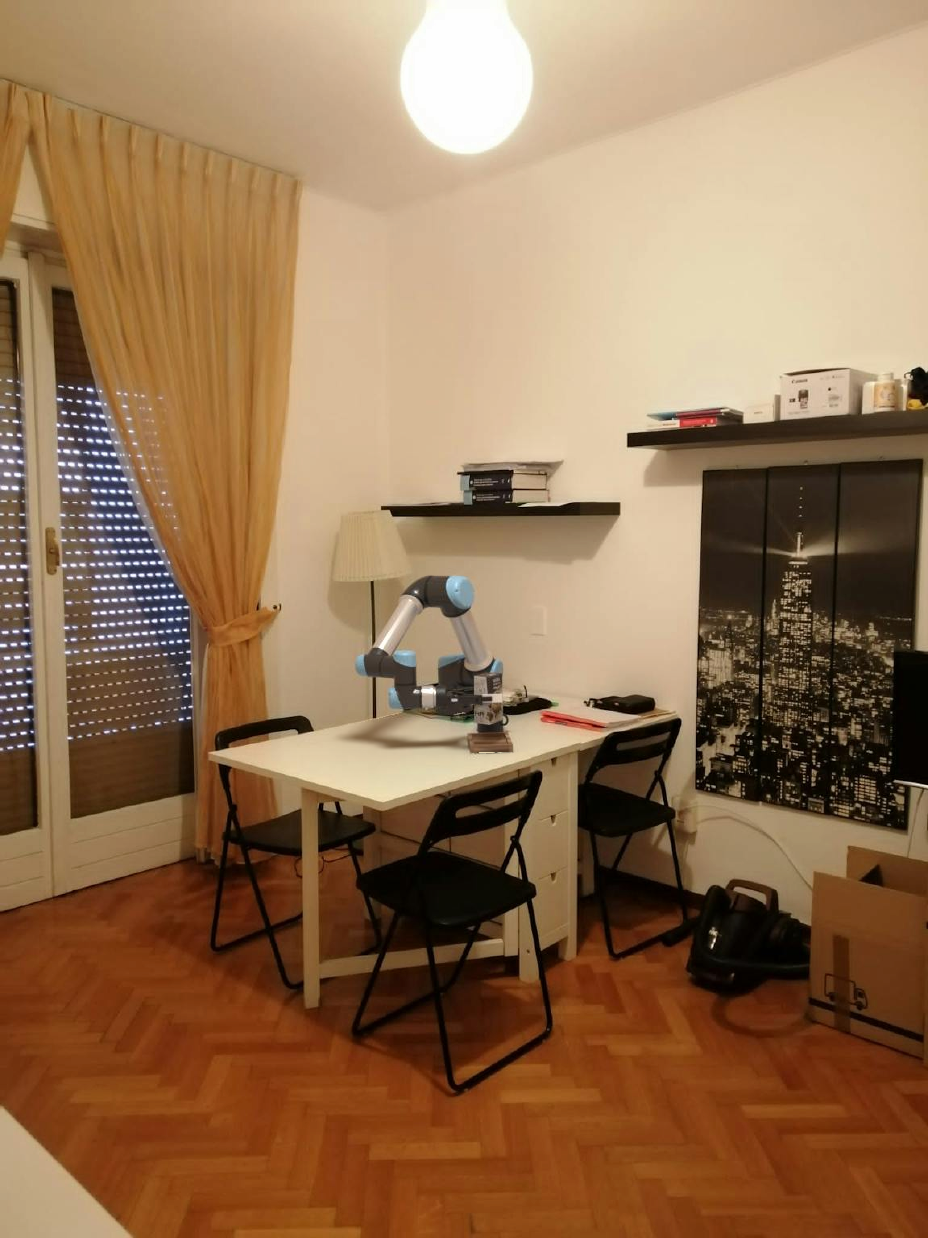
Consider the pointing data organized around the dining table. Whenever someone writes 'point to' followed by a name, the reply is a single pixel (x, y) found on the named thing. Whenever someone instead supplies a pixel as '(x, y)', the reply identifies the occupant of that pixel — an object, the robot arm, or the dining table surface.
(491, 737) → the tray
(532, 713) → the dining table surface
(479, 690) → the coffee box
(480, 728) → the mug
